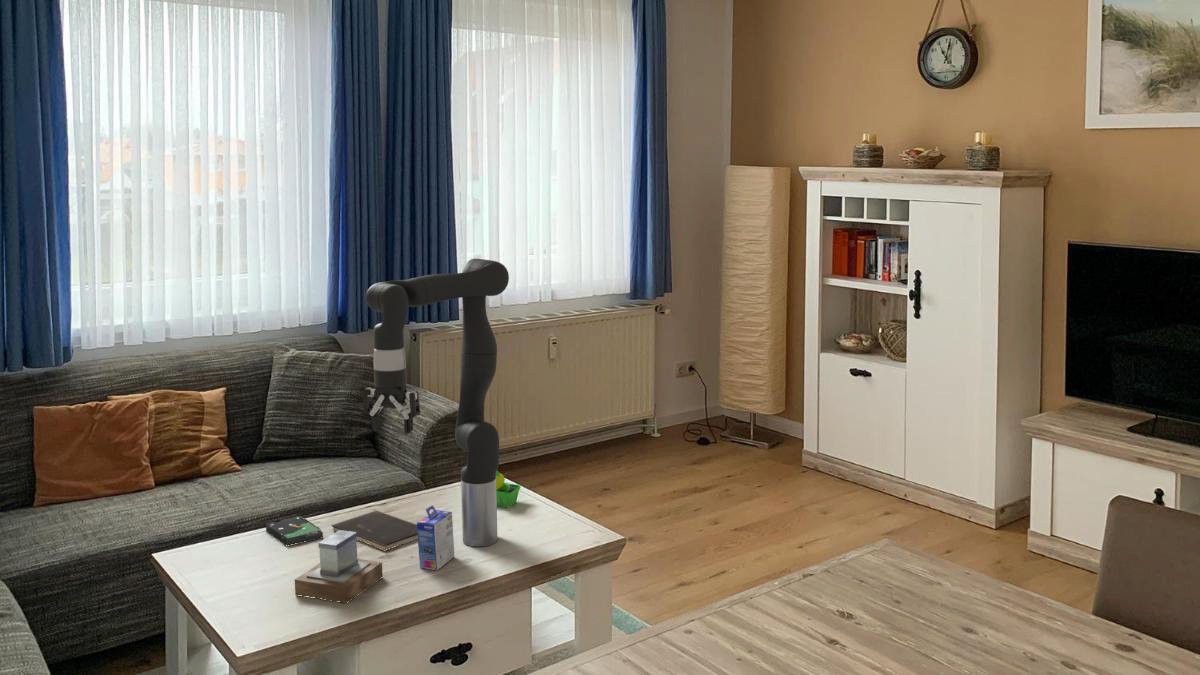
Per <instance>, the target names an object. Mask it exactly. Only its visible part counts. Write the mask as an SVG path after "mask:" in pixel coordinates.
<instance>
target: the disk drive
mask: <svg viewBox="0 0 1200 675" xmlns="http://www.w3.org/2000/svg"><path fill="white" fill-rule="evenodd" d="M265 532H267V533H268V534H269V535H271V536H273V537H274V538H275V539H277V540H280V542H281V541H282V542H283V543H285V544H286V545H287V546H286V545H285V544H284V545H285V546H286V547H289V546H288V545H291V544H295V543H299V544H301V543H300V542H303V543H305V542H304V541H307V542H310V541H309V540H311V541H314V540H313V539H315V540H318V538H319V539H322V538H321V537H324V534H323V531H322V529H321V528H320V527H318V526H317V525H316V524H314V523H313V522H311V521H310V520H308V519H306V518H305V517H304V516H302V515H298V516H294V517H288V518H283V519H280V521H278V522H275V521H272V522H267V523H265ZM282 542H281V543H282ZM283 543H282V544H283ZM295 545H296V544H295ZM291 546H292V545H291Z"/></svg>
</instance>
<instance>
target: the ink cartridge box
mask: <svg viewBox="0 0 1200 675" xmlns="http://www.w3.org/2000/svg"><path fill="white" fill-rule="evenodd" d="M431 510H433V511H431ZM425 511H426V514H427V515H426V516H424V518H422V519H420V520H419V521H418V522H416V525H417V533H418V539H417V543H418V546H417V547H418V557H419V558H418V559H419V568H420V569H425V570H426V569H427V570H432V571H439V569H441V567H443V566H444V565H445V564H446V563H448V562H449V561H450V560H452V559H453V558H454V557H455V543H454V525H453V511H447V510H439V509H436V508H435V507H434V505H431V506H429V507H428V508H426V509H425ZM430 511H431V512H430Z"/></svg>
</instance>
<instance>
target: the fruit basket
mask: <svg viewBox="0 0 1200 675" xmlns="http://www.w3.org/2000/svg"><path fill="white" fill-rule="evenodd" d="M505 480H506V478H505V476H504V474H502V473H500V472H499V471H498V470H497V472H496V500H497V507H502V508H503V507H504V508H510V507H511V506H512V505H514V504H515V503H517V501H518V496H519V492H520V490H521V487H522V485H520V484H513V483H509V482H505Z"/></svg>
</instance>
